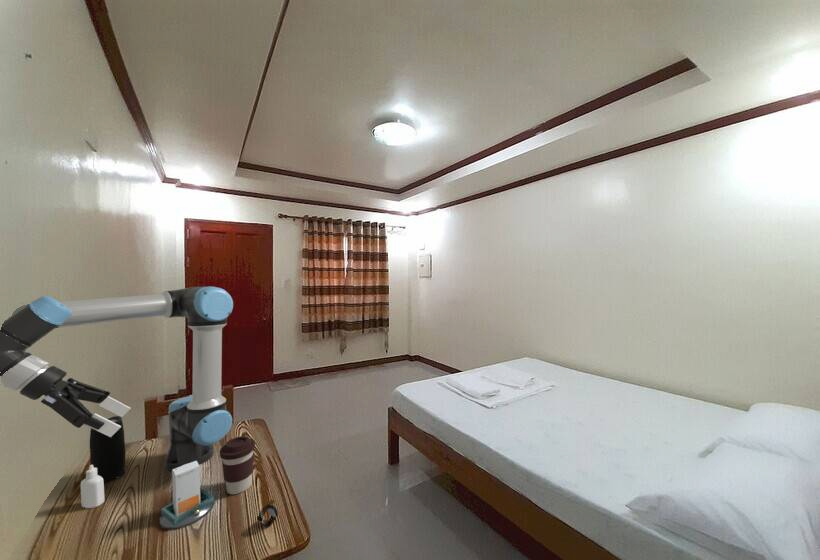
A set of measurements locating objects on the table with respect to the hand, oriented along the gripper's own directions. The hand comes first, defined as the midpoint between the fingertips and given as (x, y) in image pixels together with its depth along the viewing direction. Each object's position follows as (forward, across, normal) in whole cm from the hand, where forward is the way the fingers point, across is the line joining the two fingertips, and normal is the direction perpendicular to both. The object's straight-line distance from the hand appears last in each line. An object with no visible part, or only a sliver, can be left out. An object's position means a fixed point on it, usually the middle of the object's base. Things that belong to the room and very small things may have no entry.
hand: (121, 421), depth 84 cm
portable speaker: (+14, -34, -28) cm, 46 cm away
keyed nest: (+31, +2, -11) cm, 33 cm away
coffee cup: (+40, -1, -2) cm, 40 cm away
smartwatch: (+44, +21, +1) cm, 48 cm away
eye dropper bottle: (+14, -19, -28) cm, 37 cm away
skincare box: (+30, +2, -11) cm, 32 cm away
